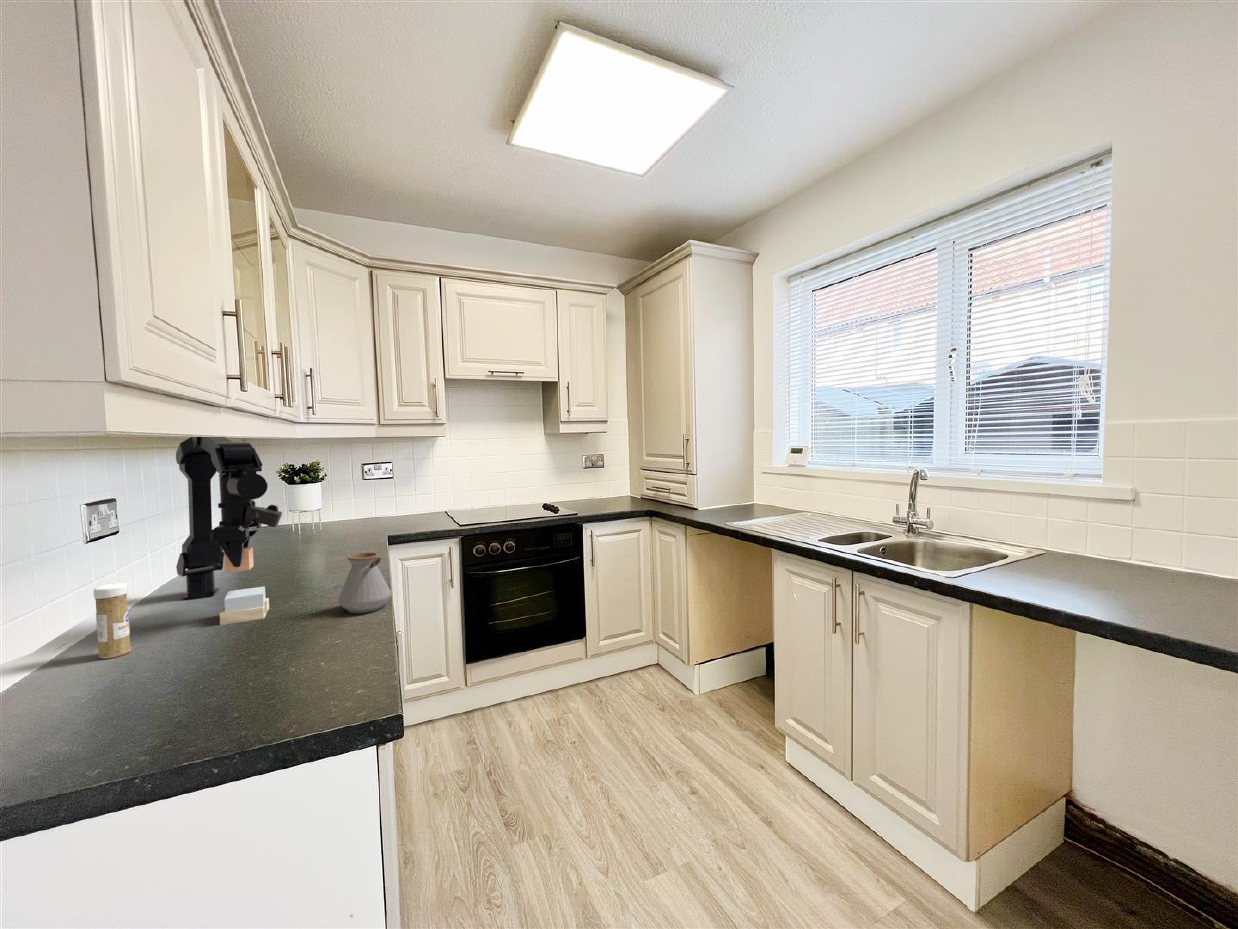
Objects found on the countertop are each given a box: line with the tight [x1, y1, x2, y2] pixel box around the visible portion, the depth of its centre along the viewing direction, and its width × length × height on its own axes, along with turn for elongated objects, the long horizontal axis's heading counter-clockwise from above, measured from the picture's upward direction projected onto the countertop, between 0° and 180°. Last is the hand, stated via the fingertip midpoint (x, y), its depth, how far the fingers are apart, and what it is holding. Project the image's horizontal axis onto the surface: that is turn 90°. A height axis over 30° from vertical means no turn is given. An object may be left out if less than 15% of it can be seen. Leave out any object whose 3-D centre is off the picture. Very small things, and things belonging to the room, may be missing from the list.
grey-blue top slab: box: [224, 586, 266, 612], centre depth 117 cm, size 7×7×3 cm
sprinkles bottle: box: [93, 582, 132, 660], centre depth 96 cm, size 5×5×13 cm
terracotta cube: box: [223, 546, 254, 573], centre depth 116 cm, size 4×4×4 cm
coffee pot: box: [338, 552, 392, 614], centre depth 118 cm, size 21×12×15 cm, turn 39°
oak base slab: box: [219, 597, 270, 626], centre depth 117 cm, size 8×8×3 cm
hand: (239, 564), depth 116 cm, fingers closed on terracotta cube, 4 cm apart
